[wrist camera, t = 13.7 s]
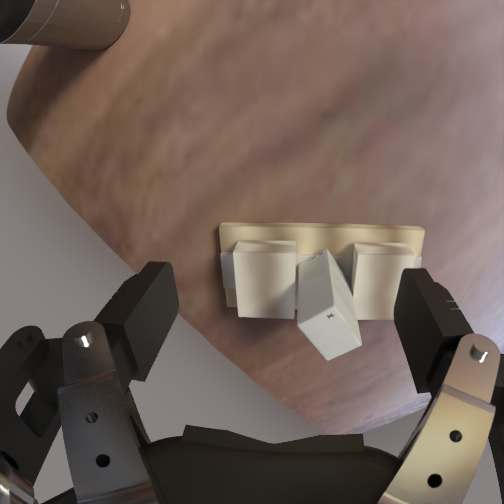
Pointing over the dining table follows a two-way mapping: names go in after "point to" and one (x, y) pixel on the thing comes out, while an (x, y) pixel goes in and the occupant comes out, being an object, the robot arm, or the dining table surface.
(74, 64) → the dining table surface
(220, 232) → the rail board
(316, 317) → the skincare box
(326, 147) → the dining table surface
